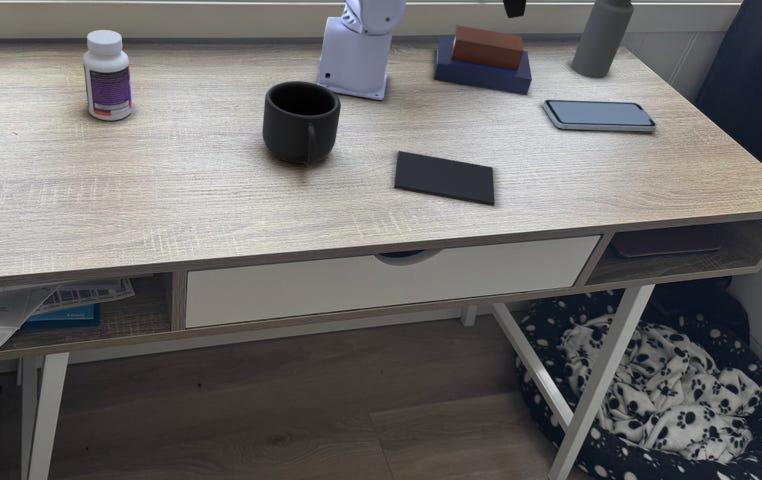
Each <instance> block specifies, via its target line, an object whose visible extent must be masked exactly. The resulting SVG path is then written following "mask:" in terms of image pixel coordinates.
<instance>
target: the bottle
mask: <svg viewBox="0 0 762 480" xmlns="http://www.w3.org/2000/svg"><path fill="white" fill-rule="evenodd" d="M634 10H635V7H634V5H633V3H632V0H595V1H594V3H593V6H592V7H591V11H590V14H589V16H588V19H587V22H586V25H585V26H584V29H583V32H582V35H581V38H580V40H579V43H578V45H577V48H576V51H575V53H574V56H573V59H572V62H571V65H570V66H571V68H572V70H574V71H575V72H576V73H578V74H580V75H581V76H585V77H588V78H592V79H593V78H594V79H600V78H605V77H607V75H608V74H609V71H610V69H611V67H612V64H613V62H614V60H615V57H616V55H617V53H618V50H619V47H620V45H621V43H622V40H623V38H624V36H625V33H626V32H627V29H628V26H629V24H630V21H631V19H632V16H633V14H634Z"/></svg>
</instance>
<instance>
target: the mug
mask: <svg viewBox="0 0 762 480" xmlns="http://www.w3.org/2000/svg"><path fill="white" fill-rule="evenodd" d="M341 103H342V102H341V99H340V97H339V96H338V95H337V93H336V92H332V91H331V90H329V89H328V88H326V87H324V86H321V85H318V83H314V82H309V81H303V80H302V81H301V80H290V81H284V82H280V83H277V84H275V85H272V86H271V87H270V88H268V90H267V91H266V93H265V96H264V107H263V117H262V118H263V119H262V120H263V121H262V139H263V142H264V144H265V147H266V149H267V150H268V151H269V152H270V153H271V154H272V155H273V156H274V157H277V158H278V159H281V160H283V161H286V162H289V163H295V164H305V166H307V167H313V166H314V164H315V163H316V162H319V161H322V160H323V159H325V158H327V156H328V155H329V154H330V152H332V150H333V149H334V147H335V144H336V140H337V134H338V128H339V122H340V121H339V120H340V114H341V109H342V105H341Z"/></svg>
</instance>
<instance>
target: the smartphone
mask: <svg viewBox="0 0 762 480" xmlns="http://www.w3.org/2000/svg"><path fill="white" fill-rule="evenodd" d="M542 107H543V109H544V110H545V112H546V114H547V115H548V117H549V118H550V120H551V121H552V123H553V124H554V126H555V127H557V128H559V129H564V130H596V131H597V130H598V131H629V132H654V131H656V130H657V127H658V124H657V122H656V121H654V119H653V118H652V117H651V115H650V114H649V113H648V112H647V111H646V110H645V108H643V106H642V105H641V104H639V103H637V102H634V101H607V100H605V101H603V100H576V99H575V100H574V99H573V100H572V99H549V98H548V99H544V100H543V103H542Z"/></svg>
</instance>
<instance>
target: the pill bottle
mask: <svg viewBox="0 0 762 480" xmlns="http://www.w3.org/2000/svg"><path fill="white" fill-rule="evenodd" d="M86 43H87V45H86V46H87V49H88V50H87V51H86V52H85V53H84V54H83V58H82V65H83V74H84V82H85V91H86V101H87V108H88V112H89V113H90V115H91V116H92V117H94V118H96V119H99V120H103V121H117V120H121V119H125V118H126V117H128V116H129V115H130V114H131V113H132V110H133V103H132V89H131V88H132V87H131V73H130V71H131V70H130V59H129V56H128V54H127V53H126V52H124V51H123V38H122V35H121V34H120V33H118V32H117V31H114V30H109V29H98V30H94V31H91V32H89V33H88V34H87V36H86Z"/></svg>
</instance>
